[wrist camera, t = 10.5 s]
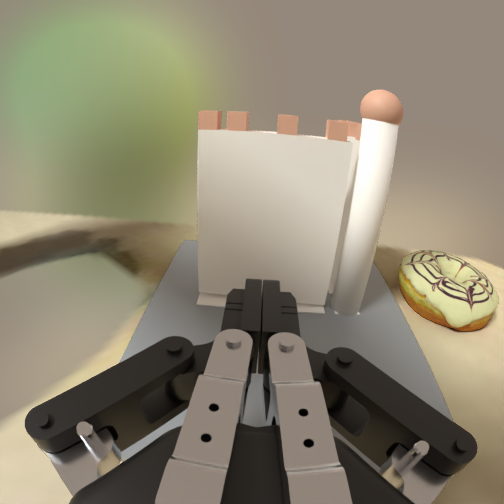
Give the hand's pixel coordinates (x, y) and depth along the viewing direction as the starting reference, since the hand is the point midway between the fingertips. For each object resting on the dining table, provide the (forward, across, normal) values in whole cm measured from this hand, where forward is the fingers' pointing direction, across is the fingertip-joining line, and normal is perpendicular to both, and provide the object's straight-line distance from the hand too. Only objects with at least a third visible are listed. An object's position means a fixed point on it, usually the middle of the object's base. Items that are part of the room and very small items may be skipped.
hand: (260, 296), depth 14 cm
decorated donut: (+10, -18, +7) cm, 22 cm away
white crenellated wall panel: (+8, 0, +5) cm, 10 cm away
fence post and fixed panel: (+12, -7, +6) cm, 15 cm away
